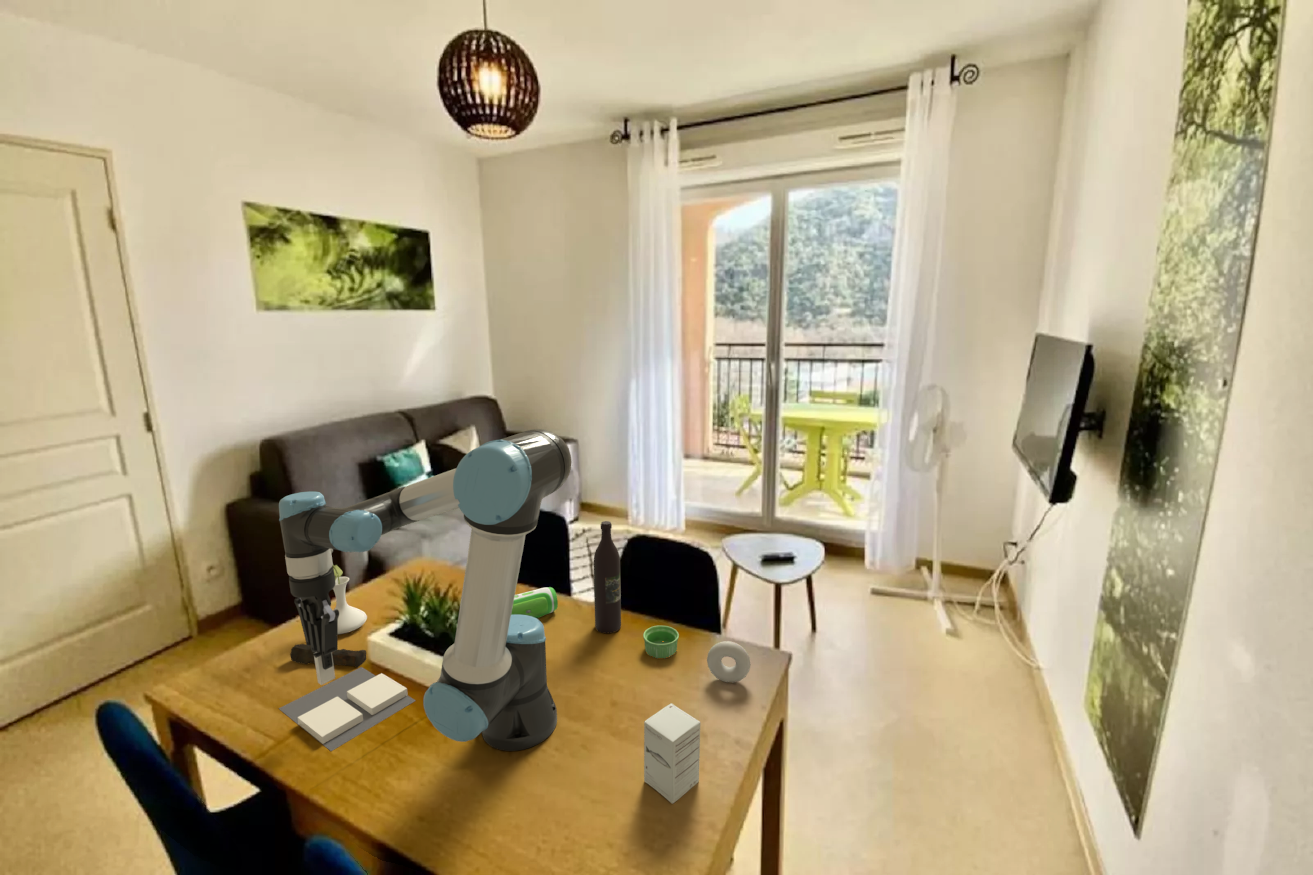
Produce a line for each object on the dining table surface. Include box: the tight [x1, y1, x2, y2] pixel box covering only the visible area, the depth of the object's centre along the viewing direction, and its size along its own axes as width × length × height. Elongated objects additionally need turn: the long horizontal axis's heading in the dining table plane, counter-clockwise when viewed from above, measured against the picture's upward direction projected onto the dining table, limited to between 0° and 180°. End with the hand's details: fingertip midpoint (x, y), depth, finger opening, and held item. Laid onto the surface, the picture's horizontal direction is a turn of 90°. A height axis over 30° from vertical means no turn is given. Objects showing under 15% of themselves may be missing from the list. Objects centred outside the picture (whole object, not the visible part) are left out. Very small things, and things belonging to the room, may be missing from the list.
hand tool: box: [289, 643, 367, 669], centre depth 138 cm, size 19×4×5 cm, turn 81°
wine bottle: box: [593, 520, 622, 634], centre depth 151 cm, size 7×7×30 cm
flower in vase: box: [332, 564, 368, 635], centre depth 151 cm, size 13×11×25 cm
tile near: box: [297, 696, 363, 745], centre depth 116 cm, size 2×8×10 cm
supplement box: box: [643, 702, 701, 805], centre depth 101 cm, size 7×7×13 cm
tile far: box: [347, 672, 409, 715], centre depth 124 cm, size 2×8×10 cm
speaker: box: [511, 586, 559, 619], centre depth 158 cm, size 18×7×8 cm, turn 123°
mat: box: [278, 666, 417, 752], centre depth 122 cm, size 22×18×1 cm
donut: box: [706, 640, 752, 683], centre depth 130 cm, size 10×4×10 cm, turn 76°
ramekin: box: [642, 625, 680, 659], centre depth 143 cm, size 9×9×4 cm
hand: (326, 680), depth 114 cm, fingers closed
